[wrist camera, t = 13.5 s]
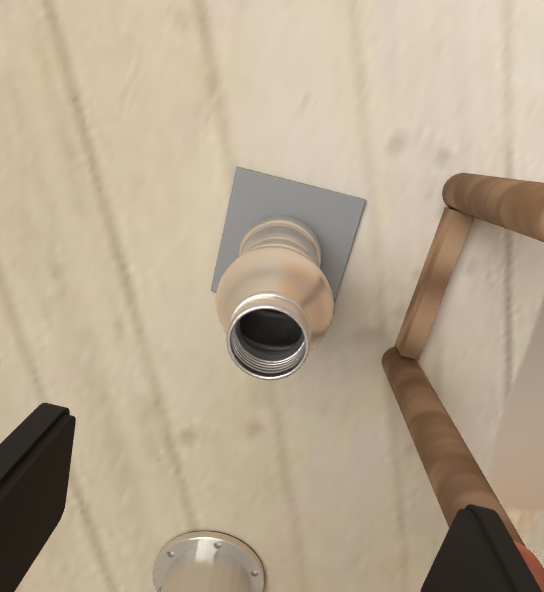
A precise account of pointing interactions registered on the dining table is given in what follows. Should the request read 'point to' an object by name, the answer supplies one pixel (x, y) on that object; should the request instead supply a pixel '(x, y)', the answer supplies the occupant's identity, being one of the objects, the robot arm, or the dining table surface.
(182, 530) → the dining table surface
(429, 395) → the brown piece
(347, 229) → the mat
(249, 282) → the silver metal bottle
